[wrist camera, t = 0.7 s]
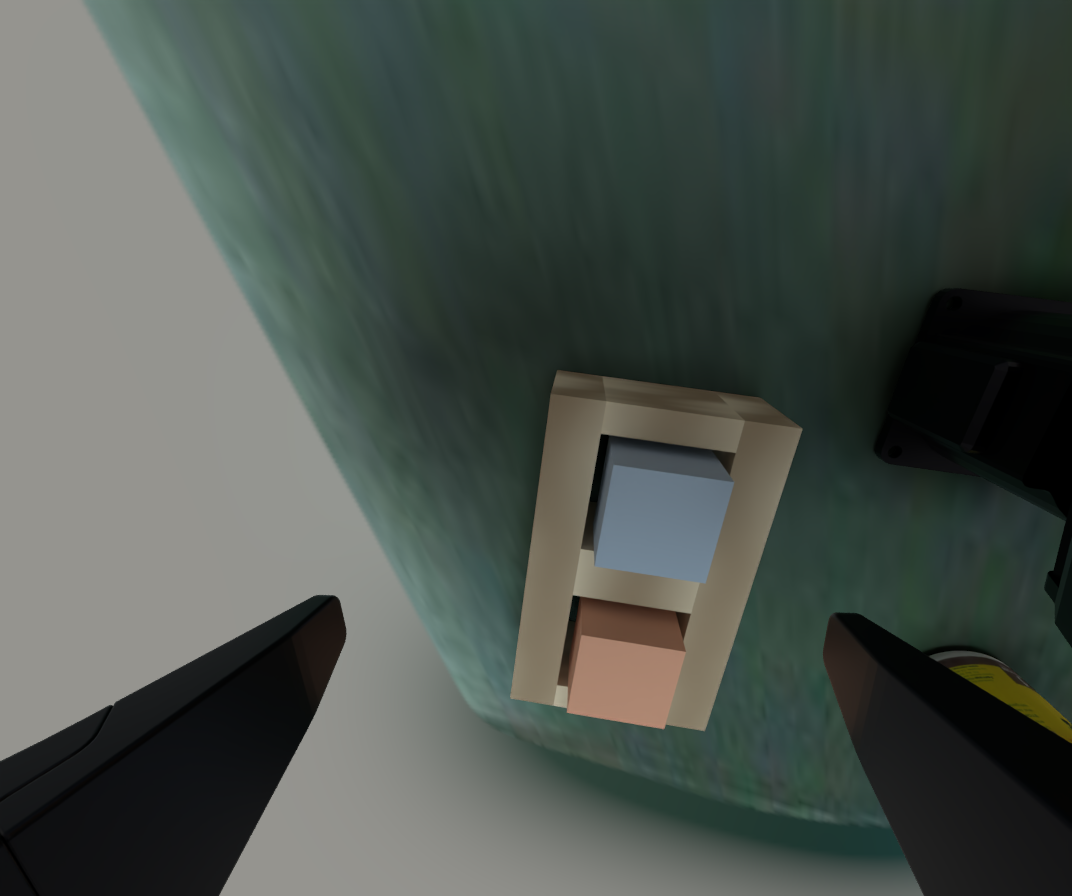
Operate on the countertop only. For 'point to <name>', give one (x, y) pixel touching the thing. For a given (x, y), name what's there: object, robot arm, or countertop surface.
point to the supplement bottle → (1005, 687)
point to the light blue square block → (659, 509)
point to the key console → (702, 609)
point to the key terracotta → (624, 662)
